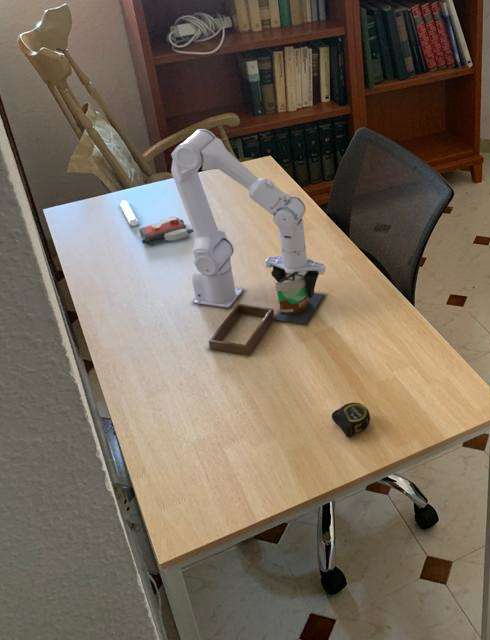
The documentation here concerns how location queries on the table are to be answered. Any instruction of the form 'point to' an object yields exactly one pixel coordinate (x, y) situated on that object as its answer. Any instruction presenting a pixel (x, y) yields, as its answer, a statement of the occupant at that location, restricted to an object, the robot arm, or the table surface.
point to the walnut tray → (239, 309)
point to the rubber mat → (302, 312)
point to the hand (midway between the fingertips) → (298, 293)
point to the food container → (292, 293)
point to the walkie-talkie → (164, 231)
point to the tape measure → (352, 418)
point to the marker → (129, 213)
